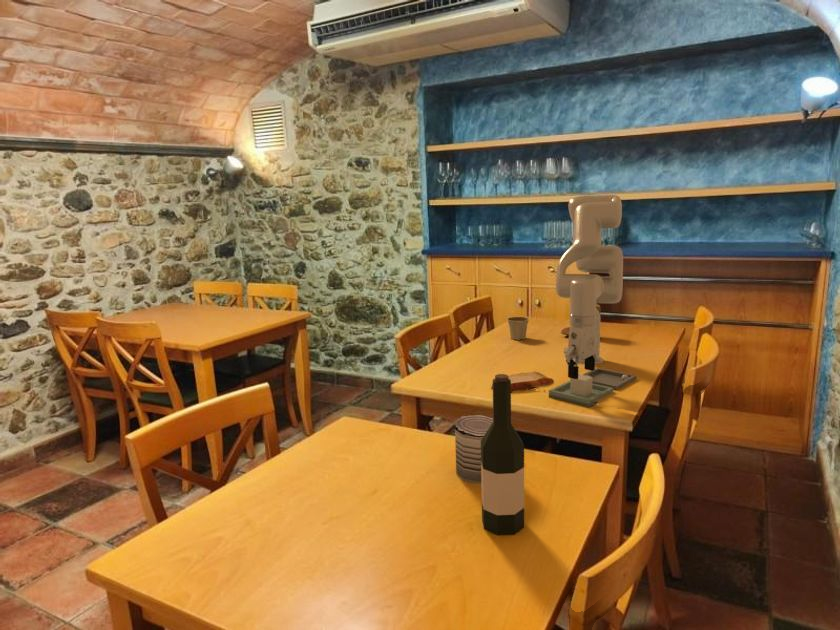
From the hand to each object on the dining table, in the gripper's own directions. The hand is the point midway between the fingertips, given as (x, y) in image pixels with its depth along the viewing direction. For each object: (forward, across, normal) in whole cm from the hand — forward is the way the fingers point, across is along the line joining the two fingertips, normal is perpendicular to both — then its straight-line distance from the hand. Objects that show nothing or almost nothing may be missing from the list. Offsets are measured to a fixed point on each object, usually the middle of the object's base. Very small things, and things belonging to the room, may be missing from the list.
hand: (581, 373), depth 182 cm
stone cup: (+9, +65, +37) cm, 75 cm away
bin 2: (+7, +15, 0) cm, 17 cm away
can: (+6, -60, -8) cm, 61 cm away
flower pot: (+9, +46, +57) cm, 74 cm away
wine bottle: (+5, -74, -25) cm, 78 cm away
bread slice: (+8, -4, +19) cm, 21 cm away
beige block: (+6, -1, 0) cm, 6 cm away
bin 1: (+7, -1, 0) cm, 7 cm away
